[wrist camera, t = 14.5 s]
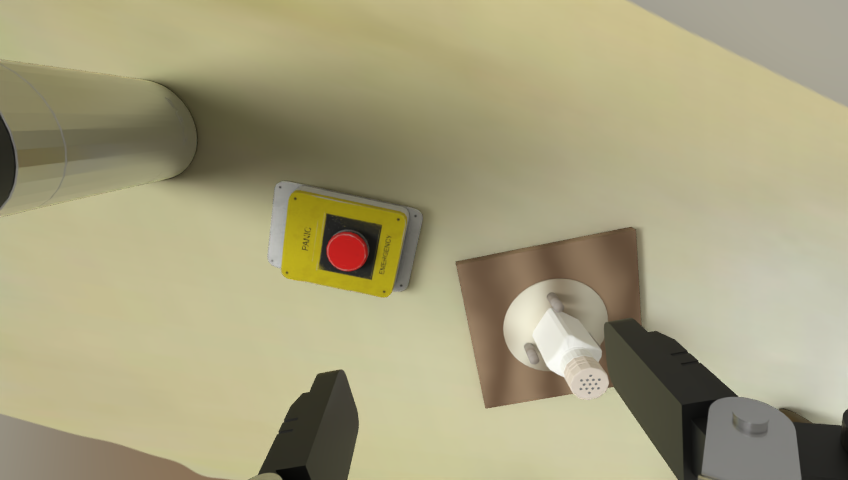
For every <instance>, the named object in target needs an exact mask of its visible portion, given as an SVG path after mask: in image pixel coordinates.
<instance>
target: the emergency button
mask: <svg viewBox="0 0 848 480" xmlns="http://www.w3.org/2000/svg"><path fill="white" fill-rule="evenodd" d="M422 221H423V216H422V213H421V212H420V211H419V210H417V209H415V208H412V207H407V206H402V205H398V204H393V203H388V202H384V201H379V200H374V199H369V198H365V197H360V196H355V195H351V194H346V193H341V192H337V191H332V190H327V189H323V188H318V187H313V186H309V185H304V184H299V183H294V182H290V181H281V182H279V183H277V184H276V186H275V189H274V199H273V209H272V218H271V228H270V238H269V248H268V261H269V263H270V264H271V265H273V266H275V267H277V268H281V273H282V275H283V276H284V277H286V278H288V279H292V280H297V281H302V282H307V283H312V284H317V285H322V286H327V287H332V288H337V289H342V290H347V291H352V292H357V293H362V294H367V295H372V296H377V297H388V296H389V295H390V294H391V293H392V291H403V290H405V289H406V288H407V287H408V284H409V280H410V275H411V271H412V266H413V262H414V257H415V252H416V248H417V243H418V239H419V234H420V230H421V225H422Z"/></svg>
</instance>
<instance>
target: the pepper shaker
mask: <svg viewBox="0 0 848 480" xmlns="http://www.w3.org/2000/svg"><path fill="white" fill-rule="evenodd" d="M532 336H533V338H534V341H535V343H536V345H537V347H538V349H539V351H540V353H541V355H542V357H543V359H544V361H545V363H546V365H547V367H548V368H549V369H550V370H551V371H553V372H555V373H556V374H558V375H560V376H562V377H564V378H565V380H566V382H567V383H568V385H569V387H570V389H571V391H572V393H573V394H575V395H576V396H577V397H578V398H580V399H586V400H591V399H595V398H598V397H600V396H601V395H602V394H603V393H605V392H606V390H607V387H608V385H609V380H608V376H607V374H606V372H605V371H604V370H603V368H602V367H601V365H600V364H599V360H600V358H601V356H602V350H601V349H600V348H599V346H598V345H597V344H596V342H595V341H594V340H593V338H592V337H591V336H590V334H589V333H588V332H587V330H586V329H585V328H584V326H583V325H582V324H581V322H580V321H579V320H578V319H576V318H574V317H572V316H570V315H568V314H566V313H564V312H556V311H555V310H554V309H553V308H549V309H548V310H547V311H546V313H545V314H544V316H543V317H542V319H541V320H540V322H539V323H538V325H537V326H536V328H535V329H534V331H533V335H532Z"/></svg>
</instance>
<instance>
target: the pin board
mask: <svg viewBox="0 0 848 480" xmlns="http://www.w3.org/2000/svg"><path fill="white" fill-rule="evenodd" d="M456 266H457V271H458V276H459V281H460V286H461V291H462V295H463V300H464V305H465V310H466V315H467V320H468V325H469V330H470V335H471V340H472V344H473V349H474V354H475V359H476V364H477V369H478V374H479V379H480V384H481V389H482V393H483V398H484V403H485V408H492V407H497V406H503V405H509V404H515V403H521V402H527V401H533V400H539V399H545V398H551V397H556V396H562V395H568V394H573V393H572V391H571V389H570V387H569V385H568V383H567V382H566V380H565V378H564V377H562V376H560V375H558V374H556V373H555V372H553V371H551V370H550V369H549V368H548V367H547V365H546V363H545V361H544V359H543V357H542V355H541V353H540V351H539V349H538V347H537V345H536V343H535V341H534V338H533V336H532V335H533V331H534V329H535V328H536V326H537V325H538V323H539V322H540V320H541V319H542V317H543V316H544V314H545V313H546V311H547V310H548V309H549V308H553V309H554V310H555V311H556V312H564V313H566V314H568V315H570V316H572V317H574V318H576V319H578V320H579V321H580V322H581V324H582V325H583V326H584V328H585V329H586V330H587V332H588V333H589V334H590V336H591V337H592V338H593V340H594V341H595V342H596V344H597V345H598V346H599V348H600V349H601V350H602V356H601V358H600V360H599V364H600V365H601V367H602V368H603V370H604V371H605V372H606V374H607V376H608V380H609V385H608V387H607V388H610V387H614V386H613V384H612V382H611V379H610V376H609V373H608V369H607V360H606V349H605V338H604V324H605V322H609V321H615V320H620V319H626V318H633V319H635V320H636V321H637V322H638V323H639V324H640V325H641V308H640V291H639V274H638V257H637V240H636V230H635V229H634V228H632V227H629V228H624V229H618V230H613V231H608V232H603V233H598V234H593V235H588V236H583V237H578V238H573V239H568V240H563V241H558V242H553V243H548V244H543V245H538V246H533V247H527V248H522V249H517V250H512V251H507V252H502V253H497V254H492V255H487V256H482V257H477V258H472V259H467V260H462V261H457V262H456ZM641 326H642V325H641Z"/></svg>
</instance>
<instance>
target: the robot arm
mask: <svg viewBox="0 0 848 480" xmlns="http://www.w3.org/2000/svg"><path fill="white" fill-rule="evenodd" d="M196 146H197V132H196V128H195V124H194V121H193V118H192V116H191V114H190V112H189V110H188V109H187V107H186V106H185V105H184V103H183V102H182V101H181V100H180V99H179V98H178V97H177V96H176V95H175V94H174V93H173V92H172V91H170V90H169V89H167V88H166V87H164V86H162V85H160V84H158V83H155V82H153V81H148V80H143V79H136V78H129V77H122V76H116V75H109V74H102V73H95V72H88V71H81V70H74V69H66V68H59V67H52V66H45V65H38V64H31V63H23V62H16V61H9V60H2V59H0V217H4V216H8V215H12V214H17V213H21V212H25V211H29V210H33V209H37V208H42V207H46V206H51V205H55V204H59V203H64V202H68V201H73V200H77V199H81V198H86V197H90V196H94V195H99V194H103V193H108V192H112V191H116V190H121V189H125V188H130V187H134V186H139V185H143V184H148V183H152V182H156V181H160V180H165V179H169V178H172V177H174V176H176V175H179V174H180V173H181V172H183V171H184V170H185V169H186V168H187V167H188V166H189V164H190V163H191V161H192V160H193V157H194V155H195V152H196ZM604 338H605V349H606V360H607V369H608V373H609V376H610V379H611V382H612V384H613V386H614V388H615V389H616V391H617V392H618V394H619V395H620V397H621V398H622V400H623V401H624V402H625V404H626V405H627V407H628V408H629V410H630V411H631V413H632V414H633V415H634V417H635V418H636V420H637V421H638V423H639V424H640V425H641V427H642V428H643V430H644V431H645V433H646V434H647V436H648V437H649V438H650V440H651V441H652V443H653V444H654V446H655V447H656V449H657V450H658V451H659V453H660V454H661V456H662V457H663V459H664V460H665V462H666V463H667V464H668V466H669V467H670V469H671V470H672V472H673V473H674V474H675V476H676V477H677V479H678V480H848V409H847V410H846V411H845V412H844V414H843V419H842V426H840V425H826V424H813V423H801V422H793V421H791V420H790V419H789V418H788V417H787V416H786V415H785V414H783V413H782V412H781V411H779V410H778V409H776V408H774V407H772V406H770V405H768V404H766V403H763V402H760V401H757V400H753V399H749V398H743V397H738V396H737V395H736V394H735V393H734V392H733V391H732V390H730V389H729V388H728V387H727V386H726V385H725V384H724V383H723V382H722V381H720V380H719V379H718V378H717V377H716V376H715V375H714V374H713V373H711V372H710V371H709V370H708V369H707V368H706V367H705V366H704V365H702V364H701V363H699V362H698V360H697V359H696V358H695V357H694V356H692V355H691V354H690V353H688V352H687V350H686V349H685V348H683V347H682V346H681V345H680V344H679V343H678V342H677V341H676V340H675V339H672V338H670V337H668V336H666V335H664V334H661V333H659V332H657V331H654V332H647V331H646V330H645V329H644V328H643V327H642V326H641V325H640V324H639V323H638V322H637V321H636V320H635V319H633V318H626V319H620V320H615V321H609V322H605V324H604ZM358 428H359V420H358V412H357V408H356V405H355V402H354V399H353V396H352V393H351V389H350V386H349V383H348V380H347V377H346V374H345V372H344V371H343V370H336V371H330V372H325V373H319V374H318V375H317V376H316V378H315V381H314V383H313V385H312V387H311V390H310V392H307V393H303V394H302V395H301V396H300V397H299V398H298V399H297V400H296V401H295V402H294V403H293V404H292V405H291V407H290V409H289V411H288V413H287V415H286V417H285V419H284V423H282V425H281V428H280V430H279V434H277V436H276V438H275V440H274V442H273V444H272V446H271V448H270V451H269V453H268V455H267V457H266V459H265V461H264V463H263V465H262V467H261V469H260V471H259V474H258V475H257V476H254V477H252V478H250V479H249V480H347V478H348V474H349V470H350V465H351V461H352V456H353V452H354V447H355V443H356V438H357V434H358Z"/></svg>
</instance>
